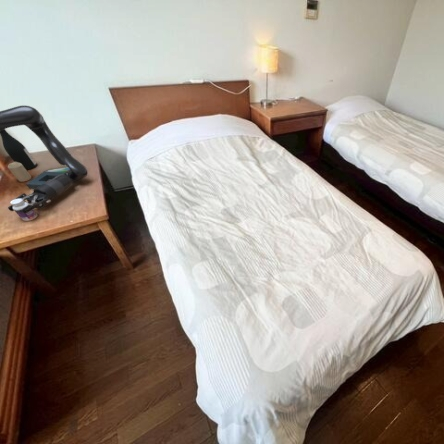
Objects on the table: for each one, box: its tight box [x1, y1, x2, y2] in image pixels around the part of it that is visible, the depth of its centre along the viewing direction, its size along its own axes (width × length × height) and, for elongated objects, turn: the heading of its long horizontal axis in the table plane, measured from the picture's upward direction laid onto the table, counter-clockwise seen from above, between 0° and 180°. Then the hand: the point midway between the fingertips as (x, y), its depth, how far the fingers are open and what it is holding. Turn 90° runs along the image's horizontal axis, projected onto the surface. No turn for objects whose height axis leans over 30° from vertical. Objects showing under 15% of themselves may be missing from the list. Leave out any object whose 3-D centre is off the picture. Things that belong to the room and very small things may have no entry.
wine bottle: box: [0, 129, 38, 171], centre depth 135 cm, size 8×8×30 cm
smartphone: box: [46, 166, 69, 173], centre depth 145 cm, size 7×1×15 cm
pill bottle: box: [10, 198, 38, 222], centre depth 113 cm, size 5×5×10 cm
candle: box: [7, 161, 32, 183], centre depth 133 cm, size 6×6×10 cm
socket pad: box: [25, 170, 63, 190], centre depth 135 cm, size 13×13×3 cm
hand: (16, 210), depth 110 cm, fingers open, 6 cm apart
